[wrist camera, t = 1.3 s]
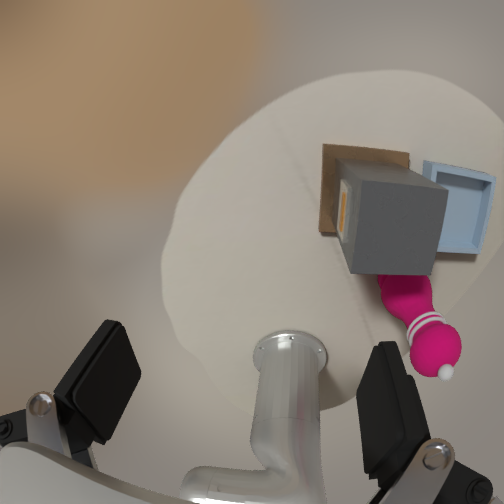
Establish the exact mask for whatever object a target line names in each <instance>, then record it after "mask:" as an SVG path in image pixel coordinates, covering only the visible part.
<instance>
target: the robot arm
mask: <svg viewBox="0 0 504 504" xmlns="http://www.w3.org/2000/svg"><path fill="white" fill-rule="evenodd" d="M253 362H254V365H255V367H256V368H257V370H258V371H259V372H260V376H259V383H258V390H257V397H256V403H255V410H254V416H253V423H252V429H251V436H250V444H251V448H252V451H253V453H254V455H255V456H256V457H257V459H258V460H259V461H260V463H261V464H262V465H263V466H264V467H265V469H266V470H253V471H251V470H240V469H229V468H220V467H211V466H199V467H195V468H193V469H191V470H190V471H188V473H187V474H186V475H185V477H184V479H183V481H182V484H181V489H180V495H179V498H175V497H171V496H168V495H164V494H161V493H157V492H154V491H151V490H147V489H144V488H141V487H138V486H135V485H132V484H130V483H127V482H124V481H121V480H119V479H116V478H114V477H111V476H109V475H106V474H104V473H102V472H99V470H98V467H97V464H96V461H95V458H94V455H93V451H92V448H91V444H92V442H93V441H95V442H97V443H100V444H102V445H105V443H106V441H107V440H109V439H111V437H112V435H113V433H114V430H115V428H116V426H117V424H118V422H119V420H120V418H121V416H122V414H123V412H124V410H125V408H126V406H127V404H128V402H129V400H130V398H131V396H132V393H133V391H134V390H135V388H136V386H137V384H138V382H139V380H140V377H141V369H140V367H139V364H138V362H137V359H136V357H135V354H134V352H133V349H132V346H131V344H130V341H129V339H128V336H127V333H126V330H125V328H124V326H122V324H121V323H120V322H118V321H113V320H108V319H107V320H105V321H104V322H103V323H102V325H101V326H100V327H99V328H98V330H97V331H96V332H95V334H94V335H93V336H92V338H91V339H90V341H89V342H88V343H87V345H86V346H85V347H84V349H83V350H82V351H81V353H80V354H79V355H78V357H77V358H76V360H75V361H74V363H73V364H72V365H71V367H70V368H69V369H68V371H67V372H66V374H65V375H64V377H63V378H62V380H61V381H60V383H59V384H58V385H57V387H56V388H55V390H54V393H55V394H54V395H53V396H52V395H51V394H50V393H48V392H45V391H42V392H37V393H35V394H34V395H33V396H31V397H30V398H29V400H28V402H27V404H26V409H23V410H20V411H17V412H13V413H10V414H6V415H3V416H0V504H327V500H326V493H325V487H324V481H323V476H322V467H321V450H320V405H319V379H318V373H319V372H320V371H321V370H322V369H323V368H324V366H325V363H326V350H325V348H324V346H323V344H322V343H321V342H320V341H319V340H318V339H317V338H315V337H313V336H312V335H309V334H307V333H303V332H299V331H282V332H277V333H274V334H271V335H269V336H267V337H265V338H263V339H262V340H261V341H260V342H259V343H258V344H257V346H256V347H255V350H254V354H253ZM356 399H357V406H358V414H359V423H360V431H361V441H362V451H363V463H364V472H365V473H366V474H369V480H370V479H378V487H379V489H378V490H377V491H376V492H375V494H374V495H373V496H372V498H371V499H370V500H369V501H368V502H367V504H503V503H502V501H501V500H500V499H499V498H498V497H497V496H496V497H493V496H492V493H493V487H492V483H491V482H490V480H489V479H487V478H486V477H485V476H483V475H481V474H479V473H477V472H475V471H473V470H472V469H470V468H468V467H466V466H464V465H463V464H461V463H459V462H458V461H456V460H455V452H454V449H453V447H452V446H451V444H450V443H449V442H447V441H446V440H443V439H440V438H434V439H431V436H430V433H429V429H428V425H427V421H426V418H425V414H424V410H423V407H422V403H421V400H420V396H419V393H418V390H417V387H416V384H415V380H414V378H413V377H412V376H411V375H407V373H406V370H405V367H404V364H403V361H402V358H401V355H400V352H399V349H398V346H397V343H396V342H395V341H384V342H379V344H378V346H374V347H373V350H372V353H371V356H370V358H369V361H368V364H367V366H366V369H365V372H364V374H363V377H362V379H361V382H360V384H359V387H358V389H357V394H356Z"/></svg>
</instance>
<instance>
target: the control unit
mask: <svg viewBox="0 0 504 504" xmlns="http://www.w3.org/2000/svg"><path fill="white" fill-rule="evenodd" d="M408 165H409V153H407V152H400V151H393V150H385V149H377V148H368V147H358V146H347V145H334V144H323V153H322V180H321V199H320V215H319V232H336V234H337V236H338V239H339V242H340V245H341V248H342V250H343V253H344V256H345V259H346V262H347V265H348V268H349V271H350V274H385V275H431V272H432V268H433V264H434V261H435V257H436V253H437V249H438V245H439V241H440V236H441V232H442V227H443V222H444V217H445V212H446V206H447V200H448V194H449V190H448V189H446V188H444V187H442V186H441V185H439V184H437V183H435V182H433V181H431V180H429V179H427V178H426V177H424V176H422V175H420V174H418V173H416V172H414V171H412V170H410V169H408Z"/></svg>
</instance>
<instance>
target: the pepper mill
mask: <svg viewBox="0 0 504 504" xmlns="http://www.w3.org/2000/svg"><path fill="white" fill-rule="evenodd" d="M378 283H379V286H380V288H381V298H382V302H383V304H384V305H385V307H386V309H387V310H388V311H389V312H390V313H391V314H392V315H393V316H395V317H396V318H398V319H400V320H402V321H403V322H404V323H405V325H406V327H407V329H408V330H407V340H408V342H409V345H410V347H411V348H410V360H411V363H412V365H413V367H414V369H415V370H416V371H417V372H419V374H421V375H423V376H427V377H437V376H438V378H439V379H440V380H441V381H448V380H450V379H451V378H452V376H453V374H454V369H453V366H454V365H455V364H456V362H457V361H458V359H459V357H460V354H461V348H462V346H461V340H460V336H459V334H458V332H457V331H456V330H455V328H453V327H452V326H450V325H448V324H447V322H446V321H445V319H444V317H443V315H442V314H440V313H439V312H435V310H434V308H433V305H432V288H431V283H430V280H429V278H428V277H427V275H385V274H378Z"/></svg>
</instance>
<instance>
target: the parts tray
mask: <svg viewBox="0 0 504 504" xmlns="http://www.w3.org/2000/svg"><path fill="white" fill-rule="evenodd" d="M422 176H424V177H426V178H427V179H429V180H431V181H433V182H435V183H437V184H439V185H441V186H442V187H444V188H446V189H448V190H449V194H448V200H447V206H446V212H445V217H444V222H443V227H442V232H441V236H440V241H439V245H438V249H437V252H453V253H471V254H480V252H481V249H482V245H483V241H484V237H485V233H486V229H487V225H488V221H489V216H490V212H491V207H492V201H493V196H494V190H495V184H496V177H494V176H492V175H490V174H487V173H484V172H479V171H475V170H471V169H466V168H461V167H456V166H451V165H446V164H441V163H435V162H430V161H424V164H423V174H422Z"/></svg>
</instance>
